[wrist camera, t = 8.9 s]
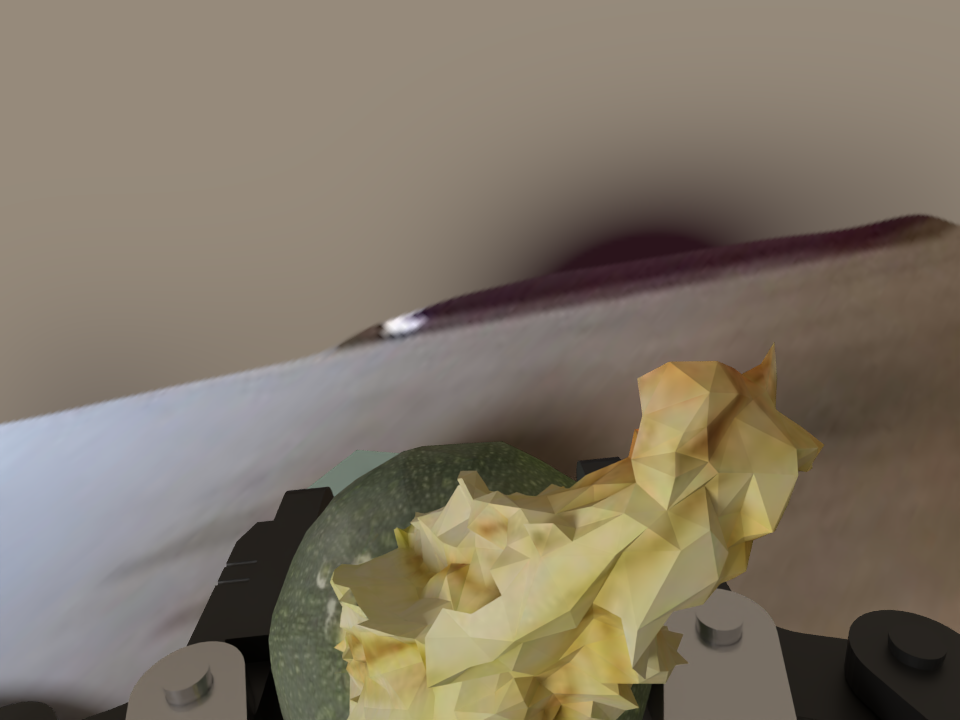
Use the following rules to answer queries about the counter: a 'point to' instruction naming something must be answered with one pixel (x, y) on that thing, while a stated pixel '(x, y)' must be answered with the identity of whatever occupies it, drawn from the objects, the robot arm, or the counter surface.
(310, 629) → the vegetable
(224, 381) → the counter surface
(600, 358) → the counter surface
